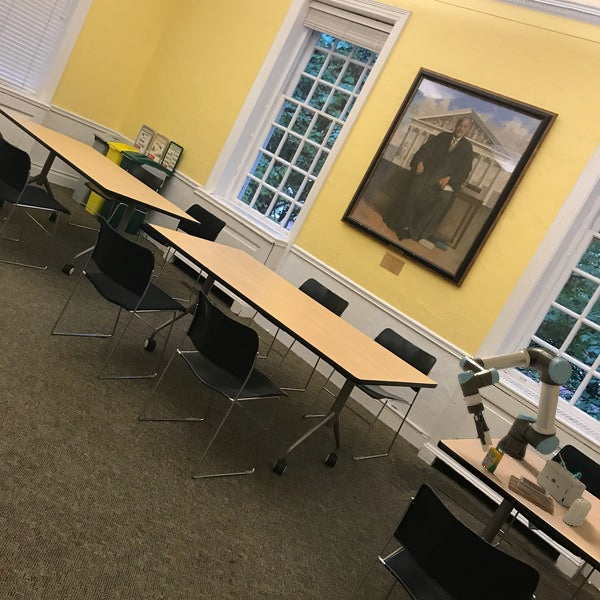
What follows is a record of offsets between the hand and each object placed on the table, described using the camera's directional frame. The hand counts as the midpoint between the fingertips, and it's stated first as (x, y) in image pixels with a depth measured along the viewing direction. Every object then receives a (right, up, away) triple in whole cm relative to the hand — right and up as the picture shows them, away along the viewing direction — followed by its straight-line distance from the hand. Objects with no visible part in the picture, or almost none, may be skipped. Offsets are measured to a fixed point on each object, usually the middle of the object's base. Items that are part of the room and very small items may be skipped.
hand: (488, 448), depth 272 cm
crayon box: (0, -10, +1) cm, 10 cm away
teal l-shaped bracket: (+51, -27, +42) cm, 72 cm away
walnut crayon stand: (+17, -19, -7) cm, 26 cm away
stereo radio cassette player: (+34, -25, +10) cm, 43 cm away
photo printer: (+30, -28, -18) cm, 45 cm away
